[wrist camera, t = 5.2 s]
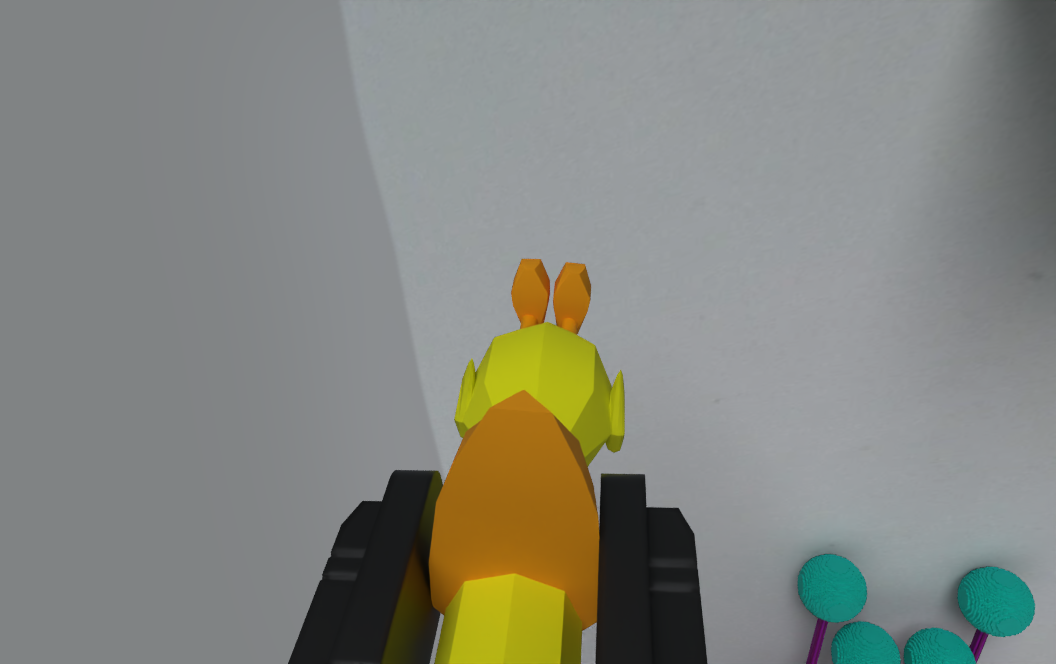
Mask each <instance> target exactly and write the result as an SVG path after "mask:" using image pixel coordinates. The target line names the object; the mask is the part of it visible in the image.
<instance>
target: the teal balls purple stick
mask: <svg viewBox="0 0 1056 664" xmlns="http://www.w3.org/2000/svg"><path fill="white" fill-rule="evenodd" d="M866 589H867V587H866V582H865V579H864V577H863V576H862V574H861V572H860V571H859V569H858V568H857V567H856V566H854V564H853V563H851V561H849V560H847V559H846V558H842V556H837V555H833V554H825V555H820V556H815V557H813V558H811V560H809V561H808V562H806V563H805V565H804V566H803V567H802V570H801V571H800V573H799V575H798V593H799V595H800V599H801V600H802V602H803V604H804V605H805V607H806V608H807V609H808V610H809V611H810V612H811V613H812V614H813V615H815V616H817V618H818V620H817V624H816V628H815V632H814V635H813V639H812V643H811V647H810V650H809V654H808V658H807V662H806V664H817V661H818V657H819V654H820V650H821V646H822V643H823V639H824V635H825V632H826V628H827V624H828V622H835V623H839V622H844V621H849V620H851V618H854V617H855V616H856V615H858V613H859V612H861V609H863V606H864V605H865V602H866V599H867V597H866V596H867V590H866ZM957 599H958V603H959V607H960V609H961V611H962V613H963V615H964V617H965V618H966V620H968V621H969V622H970V623H971V624H972V625H973V626H974V627H975V628H977V630H976V632H975V635H974V637H973V640H972V642H971V645H970V647H968V645H967V644H966V643H965V642H964V641H963V640H962V639H961V638H960V637H959V636H957V635H956V634H954V633H952V632H949V631H947V630H943V629H941V628H931V629H928V628H925V630H924V629H921V630H920V631H918V632H916V633H915V634H913V635H912V637H911V638H909V640H908V641H907V644H906V646H905V648H904V663H905V664H976V663H977V661H978V658H979V656H980V654H981V651H982V649H983V646H984V644H985V642H986V639H987V637H988V635H989V634H991V635H992V636H998V637H1005V636H1011V635H1016V634H1019V633H1021V632H1022V631H1023V630H1025V629H1026V627H1027V626H1029V625H1030V623H1031V622H1032V620H1033V616H1034V614H1035V612H1034V610H1035V607H1034V606H1035V603H1034V599H1033V595H1032V594H1031V592H1030V590H1029V588H1028V586H1027V585H1026V584H1025V582H1023V581H1022V580H1021V579H1020V578H1019V577H1017V576H1016V575H1015V574H1013V573H1012V572H1010V571H1006V570H1005V569H999V568H998V567H986V568H980V569H975V570H973V571H970V572H969V574H967V575H966V576H965V578H963V580H961V583H960V585H959V588H958V597H957ZM831 645H832V647H831V653H832V654H831V655H832V661H833V663H834V664H900V663H901V662H900V661H901V660H900V655H899V653H900V652H899V650H898V647H897V645H896V644H895V642H894V640H893V639H892V637H891V636H890V635H889V634H888V633H887V632H886V631H885V630H883V629H882V628H880V627H879V626H875V624H870V623H869V622H861V621H858V622H853V623H849V624H846V625H844V627H843V628H841V629H840V630H839V631H838V632H837V634H835V637H834V638H833V641H832V644H831Z"/></svg>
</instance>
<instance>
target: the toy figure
mask: <svg viewBox="0 0 1056 664" xmlns="http://www.w3.org/2000/svg"><path fill="white" fill-rule="evenodd" d="M511 295H512V302H513V307H514V309H515V311H516V313H517V316H518V318H519V320H520V323H521V327H520V329H519V330H516V331H513V332H510V333H507V334H504V335H501V336H497V337H494V339H493V341H492V343H491V345H490V346H489V348H488V350H487V352H486V354H485V356H484V358H483V360H482V362H481V363H480V365H479V367H478V369H477V371H476V372H475V367H474V362H473V359H471V360H470V362H469V363H468V366H467V368H466V371H465V374H464V376H463V379H462V384H461V389H460V394H459V399H458V404H457V409H456V414H455V419H454V420H455V423H456V426H457V428H458V431H459V434H460V437H462V438H463V440H462V442H461V444H460V447H459V449H458V451H457V454H456V456H455V459H454V461H453V463H452V466H451V468H450V470H449V473H448V475H447V477H446V480H445V482H444V485H443V487H442V489H441V492H440V494H439V496H438V499H437V501H436V507H435V516H434V524H433V532H432V540H431V548H430V557H429V573H430V589H431V600H432V605H433V607H434V608H435V609H436V610H438V611H439V612H440V613H441V614H443V615H444V620H443V625H442V629H441V634H440V639H439V644H438V649H437V653H436V658H435V663H434V664H581V644H582V631H583V630H585V629H586V628H588V627H590V626H591V625H593V624H594V623H596V622H597V598H598V562H599V539H600V537H599V521H598V512H597V506H596V499H595V493H594V486H593V483H592V479H591V476H590V473H589V470H588V466H589V464H590V463H591V461H592V460H593V459H594V457H595V456H596V454H597V453H598V452H599V450H600V449H601V447H602V446H603V445H604V443H606V445H607V448H608V450H610V451H612V452H614V453H615V452H617V451H620V449H621V446H622V442H623V438H624V434H625V397H624V383H623V374H622V371H621V370H620V372H619V373H618V375H617V377H616V379H615V382H614V384H613V387H612V386H611V384H610V381H609V379H608V376H607V374H606V371H605V369H604V366H603V364H602V361H601V359H600V356H599V354H598V351H597V349H596V346H595V345H594V344H592V343H590V342H588V341H587V340H585V339H583V338H581V337H580V336H578V335H577V334H578V332H579V330H580V327H581V325H582V323H583V321H584V318H585V316H586V314H587V311H588V307H589V303H590V297H591V284H590V280H589V277H588V273H587V270H586V266H585V264H578V263H568V262H566V263H565V265H564V267H563V269H562V270H561V272H560V274H559V276H558V278H557V280H556V281H555V288H554V298H553V306H554V312H555V317H556V324H557V326H556V325H554V324H551V323H549V322H546V323H544V319H545V315H546V311H547V306H548V302H549V296H550V280H549V277H548V275H547V273H546V270H545V268H544V266H543V263H542V261H541V259H522V260H521V262H520V265H519V267H518V270H517V273H516V275H515V278H514V282H513V286H512V291H511Z"/></svg>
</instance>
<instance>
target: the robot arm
mask: <svg viewBox="0 0 1056 664" xmlns="http://www.w3.org/2000/svg"><path fill="white" fill-rule="evenodd" d="M442 487H443V484H442V479H441V475H440V473H439V472H438V471H418V470H416V471H415V470H413V471H412V470H395V471H394V472H393V473H392V475H391V477H390V479H389V482H388V485H387V488H386V491H385V494H384V497H383V500H382V501H362V502H361V503H360V504H359V506H358V507H357V508H356V509H355V510H354V511H353V512H352V514H351V515H350V516H349V517H348V518H347V519H346V520H345V521H344V522H343V524H342V525H341V527H340V530H339V532H338V535H337V538H336V540H335V543H334V545H333V548H332V551H331V557H330V558H328V561H327V564H326V567H325V569H324V571H323V574H322V576H323V577H322V580H321V581H320V582H319V585H318V587H317V590H316V592H315V595H314V598H313V600H312V603H311V605H310V608H309V611H308V613H307V616H306V618H305V621H304V624H303V626H302V629H301V631H300V634H299V637H298V639H297V642H296V644H295V647H294V650H293V652H292V655H291V658H290V660H289V662H288V664H429V663H430V659H431V653H432V649H433V644H434V640H435V636H436V631H437V627H438V622H439V618H440V612H439V611H438V610H436V609H435V608H434V607H433V605H432V600H431V589H430V573H429V557H430V548H431V540H432V532H433V524H434V516H435V507H436V501H437V499H438V496H439V494H440V492H441V489H442ZM599 537H600V539H599V562H598V598H597V633H596V664H707V655H706V645H705V635H704V625H703V616H702V606H701V596H700V586H699V576H698V569H697V557H696V547H695V537H694V533H693V531H692V530H691V528H690V526H689V525H688V523H687V521H686V520H685V518H684V517H683V515H682V513H681V512H680V510H679V508H654V507H646V485H645V474H601V491H600V526H599Z"/></svg>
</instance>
